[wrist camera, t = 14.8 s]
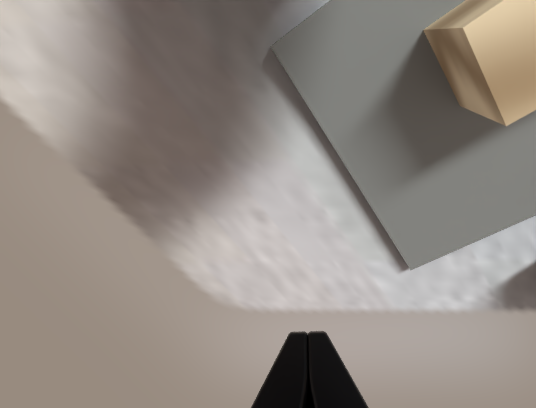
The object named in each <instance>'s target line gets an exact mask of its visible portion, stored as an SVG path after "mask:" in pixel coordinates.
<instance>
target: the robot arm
mask: <svg viewBox="0 0 536 408" xmlns="http://www.w3.org/2000/svg"><path fill="white" fill-rule="evenodd" d="M251 408H368V406H367V404H366V402H365V401H364V399H363V397H362V395H361V394H360V392H359V390H358V388H357V387H356V385H355V383H354V381H353V379H352V377H351V376H350V374H349V372H348V370H347V369H346V368H345V365H344V363H343V362H342V360H341V358H340V356H339V354H338V353H337V351H336V349H335V347H334V346H333V344H332V342H331V340H330V338H329V337H328V335H327V333H326V332H324V331H311V332H309V333H308V334H307V333H306V332H291V333H290V334H289V335H288V337H287V339H286V341H285V343H284V345H283V346H282V348H281V350H280V353H279V354H278V356H277V358H276V360H275V362H274V364H273V366H272V368H271V370H270V372H269V374H268V376H267V378H266V380H265V382H264V384H263V385H262V387H261V389H260V391H259V393H258V395H257V397H256V399H255V401H254V403H253V405H252V407H251Z"/></svg>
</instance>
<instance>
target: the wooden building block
mask: <svg viewBox="0 0 536 408" xmlns="http://www.w3.org/2000/svg"><path fill="white" fill-rule="evenodd" d="M423 31H424V33H425V35H426V37H427V39H428V41H429V43H430V45H431V47H432V49H433V51H434V53H435V55H436V57H437V59H438V62H439V64H440V66H441V68H442V70H443V72H444V74H445V76H446V78H447V80H448V82H449V84H450V86H451V88H452V90H453V92H454V95H455V97H456V99H457V101H458V103H459V105H460V106H461V107H463V108H466V109H468V110H470V111H473V112H475V113H477V114H479V115H482V116H484V117H486V118H489V119H491V120H493V121H496V122H498V123H500V124H503V125H505V126H508V125H509V124H511V123H513V122H515V121H517V120H518V119H520V118H522V117H524V116H526V115H527V114H529V113H531V112H533V111H535V110H536V0H465V1H464V2H462V3H461V4H459V5H458V6H457V7H455V8H454V9H452V10H451V11H449V12H448V13H446V14H445V15H444V16H442V17H441V18H439V19H438V20H436V21H435V22H434V23H432V24H431V25H429V26H428V27H426V28H425V29H424V30H423Z"/></svg>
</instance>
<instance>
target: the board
mask: <svg viewBox="0 0 536 408" xmlns="http://www.w3.org/2000/svg"><path fill="white" fill-rule="evenodd" d="M464 1H465V0H330V1H329V2H328V3H326V4H325V5H324V6H322V7H321V8H320V9H319V10H317V11H316V12H315V13H313V14H312V15H311V16H309V17H308V18H307V19H306V20H304V21H303V22H302V23H300V24H299V25H298V26H296V27H295V28H294V29H293V30H291V31H290V32H289V33H287V34H286V35H285V36H283V37H282V38H281V39H280V40H278V41H277V42H276V43H274V44H273V45H272V46H271V49H272V50H273V52H274V53H275V55H276V56H277V58H278V60H279V61H280V63H281V64H282V66H283V68H284V69H285V71H286V72H287V74H288V76H289V77H290V79H291V80H292V82H293V84H294V85H295V87H296V88H297V90H298V92H299V93H300V95H301V96H302V98H303V100H304V101H305V103H306V104H307V106H308V107H309V109H310V111H311V112H312V114H313V115H314V117H315V119H316V120H317V122H318V123H319V125H320V127H321V128H322V130H323V131H324V133H325V135H326V136H327V138H328V139H329V141H330V143H331V144H332V146H333V147H334V149H335V151H336V152H337V154H338V155H339V157H340V159H341V160H342V162H343V163H344V165H345V166H346V168H347V170H348V171H349V173H350V174H351V176H352V178H353V179H354V181H355V182H356V184H357V186H358V187H359V189H360V190H361V192H362V194H363V195H364V197H365V198H366V200H367V202H368V203H369V205H370V206H371V208H372V210H373V211H374V213H375V214H376V216H377V217H378V219H379V221H380V222H381V224H382V225H383V227H384V229H385V230H386V232H387V233H388V235H389V237H390V238H391V240H392V241H393V243H394V245H395V246H396V248H397V249H398V251H399V253H400V254H401V256H402V257H403V259H404V261H405V262H406V264H407V265H408V267H409V268H410V270H413V269H415V268H417V267H419V266H422V265H424V264H426V263H428V262H431V261H433V260H435V259H438V258H440V257H442V256H444V255H447V254H449V253H451V252H453V251H456V250H458V249H460V248H463V247H465V246H467V245H469V244H472V243H474V242H476V241H478V240H481V239H483V238H485V237H487V236H490V235H492V234H494V233H497V232H499V231H501V230H503V229H506V228H508V227H510V226H512V225H515V224H517V223H519V222H522V221H524V220H526V219H528V218H531V217H533V216H535V215H536V110H535V111H533V112H531V113H529V114H527V115H526V116H524V117H522V118H520V119H518V120H517V121H515V122H513V123H511V124H509V125H508V126H505V125H503V124H500V123H498V122H496V121H493V120H491V119H489V118H486V117H484V116H482V115H479V114H477V113H475V112H473V111H470V110H468V109H466V108H463V107H461V106H460V105H459V103H458V101H457V99H456V97H455V95H454V92H453V90H452V88H451V86H450V84H449V82H448V80H447V78H446V76H445V74H444V72H443V70H442V68H441V66H440V64H439V62H438V59H437V57H436V55H435V53H434V51H433V49H432V47H431V45H430V43H429V41H428V39H427V37H426V35H425V33H424V31H423V30H424V29H425V28H426V27H428V26H429V25H431V24H432V23H434V22H435V21H436V20H438V19H439V18H441V17H442V16H444V15H445V14H446V13H448V12H449V11H451V10H452V9H454V8H455V7H457V6H458V5H459V4H461V3H462V2H464Z"/></svg>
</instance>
